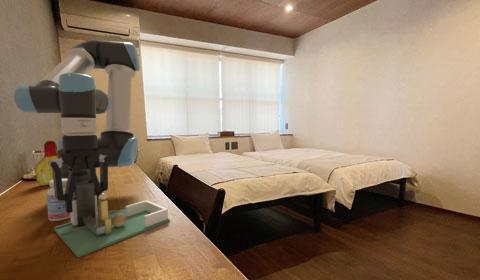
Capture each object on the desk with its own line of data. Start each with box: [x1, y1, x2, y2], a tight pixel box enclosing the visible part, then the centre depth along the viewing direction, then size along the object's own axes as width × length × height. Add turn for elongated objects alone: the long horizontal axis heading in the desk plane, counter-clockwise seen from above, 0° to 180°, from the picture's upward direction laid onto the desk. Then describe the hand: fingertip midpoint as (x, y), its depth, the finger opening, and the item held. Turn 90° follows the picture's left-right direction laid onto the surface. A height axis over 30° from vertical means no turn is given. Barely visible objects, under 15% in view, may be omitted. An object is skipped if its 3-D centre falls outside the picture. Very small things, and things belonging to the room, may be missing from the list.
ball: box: [111, 213, 127, 227], centre depth 59 cm, size 4×4×4 cm
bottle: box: [34, 140, 58, 186], centre depth 102 cm, size 12×6×20 cm, turn 138°
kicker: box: [73, 180, 111, 235], centre depth 57 cm, size 14×4×11 cm, turn 51°
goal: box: [124, 199, 169, 227], centre depth 65 cm, size 12×7×4 cm, turn 51°
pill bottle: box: [46, 179, 71, 222], centre depth 66 cm, size 6×6×11 cm
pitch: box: [54, 208, 171, 258], centre depth 60 cm, size 18×22×1 cm
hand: (84, 220), depth 60 cm, fingers closed on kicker, 4 cm apart
